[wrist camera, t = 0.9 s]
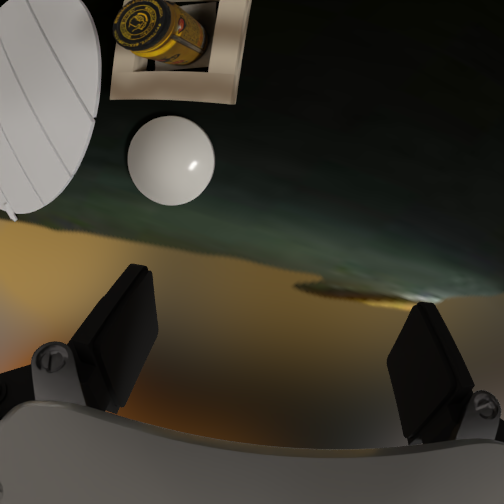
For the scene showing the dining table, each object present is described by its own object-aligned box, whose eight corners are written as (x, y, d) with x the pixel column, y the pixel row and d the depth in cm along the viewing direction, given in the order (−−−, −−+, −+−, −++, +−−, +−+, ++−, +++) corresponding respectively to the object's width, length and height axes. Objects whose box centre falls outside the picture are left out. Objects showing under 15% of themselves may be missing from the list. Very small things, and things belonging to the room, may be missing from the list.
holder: (141, -16, 24) (129, -24, 21) (255, -19, 24) (251, -31, 20) (124, 98, 31) (109, 99, 28) (235, 104, 31) (230, 104, 28)
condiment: (155, 72, 30) (101, 65, 19) (157, 10, 26) (106, -18, 15) (215, 66, 29) (181, 50, 19) (216, 2, 25) (186, -37, 15)
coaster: (133, 114, 32) (129, 114, 32) (220, 119, 32) (218, 120, 31) (130, 197, 38) (127, 199, 37) (210, 208, 37) (208, 211, 36)
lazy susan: (13, 249, 45) (2, 258, 42) (-55, 107, 31) (-66, 110, 28) (154, 109, 32) (141, 111, 29) (51, -50, 19) (39, -55, 16)
